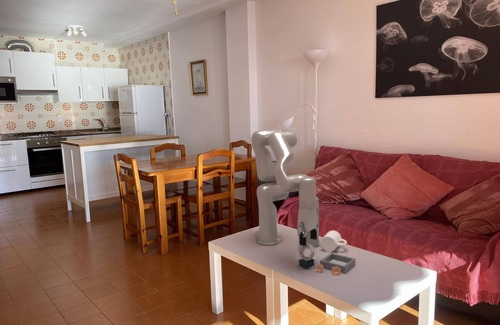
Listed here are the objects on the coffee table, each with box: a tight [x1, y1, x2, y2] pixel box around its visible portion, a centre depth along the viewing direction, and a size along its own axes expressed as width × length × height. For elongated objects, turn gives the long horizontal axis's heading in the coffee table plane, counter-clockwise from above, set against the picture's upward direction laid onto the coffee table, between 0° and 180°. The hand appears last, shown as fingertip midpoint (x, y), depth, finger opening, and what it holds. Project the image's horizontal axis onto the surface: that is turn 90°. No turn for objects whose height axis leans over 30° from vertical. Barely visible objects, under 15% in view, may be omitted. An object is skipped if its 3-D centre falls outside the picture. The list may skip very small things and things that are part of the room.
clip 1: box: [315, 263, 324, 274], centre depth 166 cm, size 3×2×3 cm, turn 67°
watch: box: [297, 242, 316, 270], centre depth 172 cm, size 6×8×11 cm
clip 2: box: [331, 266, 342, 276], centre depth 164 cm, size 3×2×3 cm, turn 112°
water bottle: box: [302, 196, 320, 248], centre depth 196 cm, size 9×8×25 cm
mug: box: [320, 230, 348, 253], centre depth 191 cm, size 12×10×8 cm
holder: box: [319, 252, 356, 274], centre depth 172 cm, size 12×11×3 cm
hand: (308, 242), depth 170 cm, fingers open, 9 cm apart
